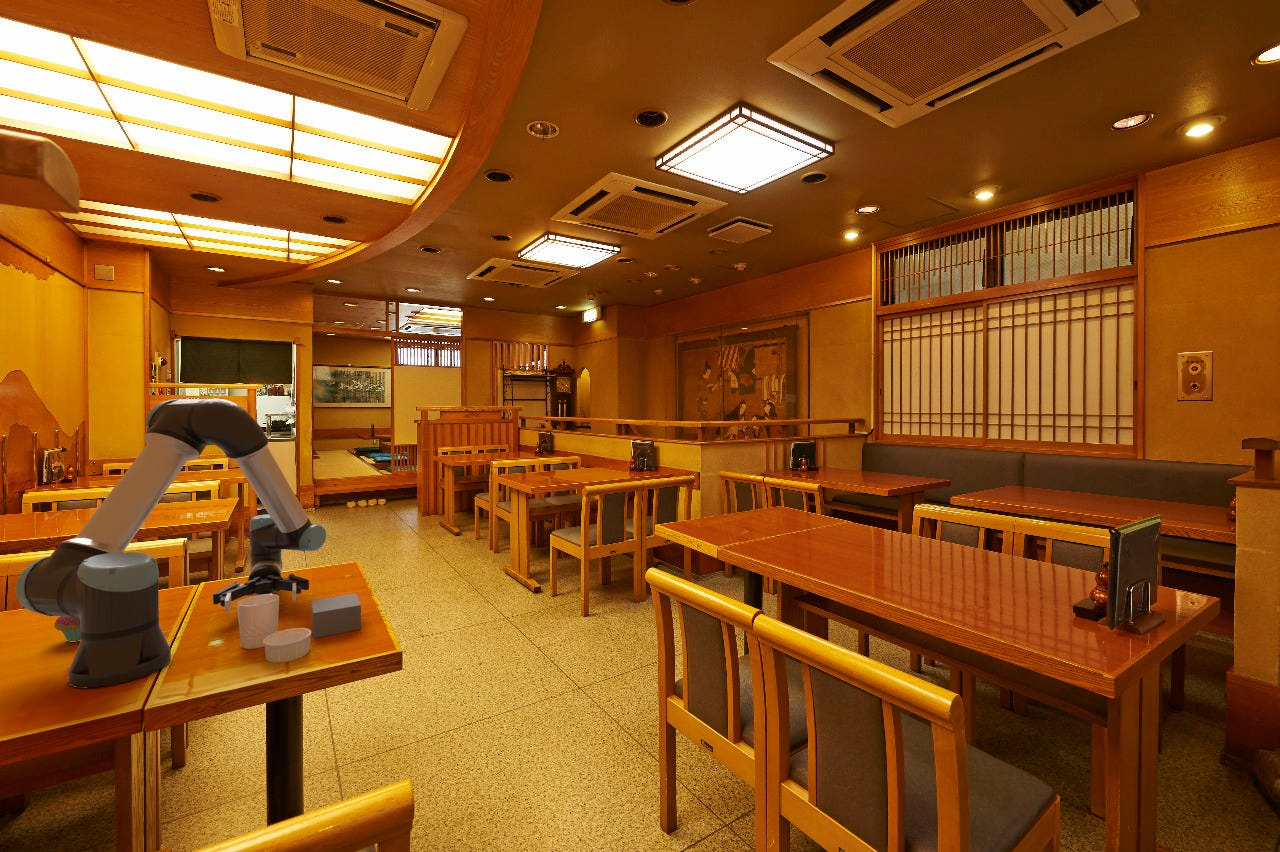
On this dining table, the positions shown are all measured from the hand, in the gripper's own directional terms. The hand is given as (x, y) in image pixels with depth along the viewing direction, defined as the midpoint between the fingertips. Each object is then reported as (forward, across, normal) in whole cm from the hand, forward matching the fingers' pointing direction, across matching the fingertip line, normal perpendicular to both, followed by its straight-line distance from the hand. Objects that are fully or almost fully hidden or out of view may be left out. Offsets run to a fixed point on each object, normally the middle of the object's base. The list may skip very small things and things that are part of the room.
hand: (261, 600), depth 132 cm
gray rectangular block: (+9, -15, -7) cm, 19 cm away
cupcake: (-15, +35, -7) cm, 39 cm away
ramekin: (+21, -5, -7) cm, 23 cm away
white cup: (+10, 0, -7) cm, 12 cm away
